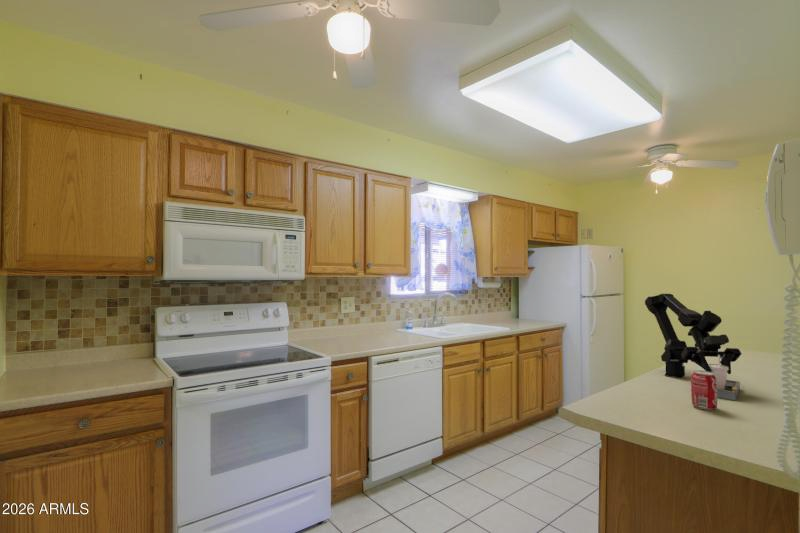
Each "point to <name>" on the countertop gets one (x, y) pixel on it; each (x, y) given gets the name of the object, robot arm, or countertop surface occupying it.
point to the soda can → (704, 390)
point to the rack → (729, 390)
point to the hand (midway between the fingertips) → (720, 373)
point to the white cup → (719, 373)
